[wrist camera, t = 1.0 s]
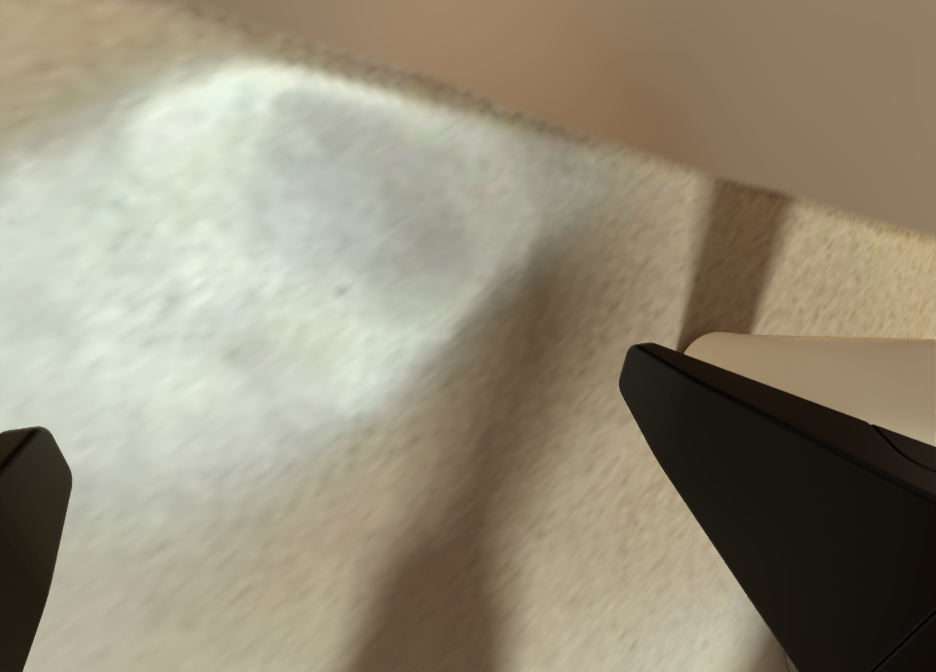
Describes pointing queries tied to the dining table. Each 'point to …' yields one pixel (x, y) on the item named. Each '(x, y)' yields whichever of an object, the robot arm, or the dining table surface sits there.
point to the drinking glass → (839, 374)
